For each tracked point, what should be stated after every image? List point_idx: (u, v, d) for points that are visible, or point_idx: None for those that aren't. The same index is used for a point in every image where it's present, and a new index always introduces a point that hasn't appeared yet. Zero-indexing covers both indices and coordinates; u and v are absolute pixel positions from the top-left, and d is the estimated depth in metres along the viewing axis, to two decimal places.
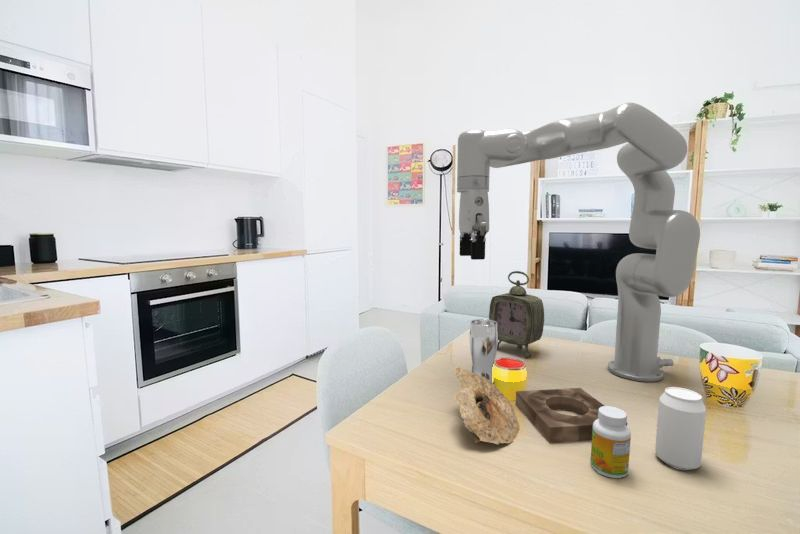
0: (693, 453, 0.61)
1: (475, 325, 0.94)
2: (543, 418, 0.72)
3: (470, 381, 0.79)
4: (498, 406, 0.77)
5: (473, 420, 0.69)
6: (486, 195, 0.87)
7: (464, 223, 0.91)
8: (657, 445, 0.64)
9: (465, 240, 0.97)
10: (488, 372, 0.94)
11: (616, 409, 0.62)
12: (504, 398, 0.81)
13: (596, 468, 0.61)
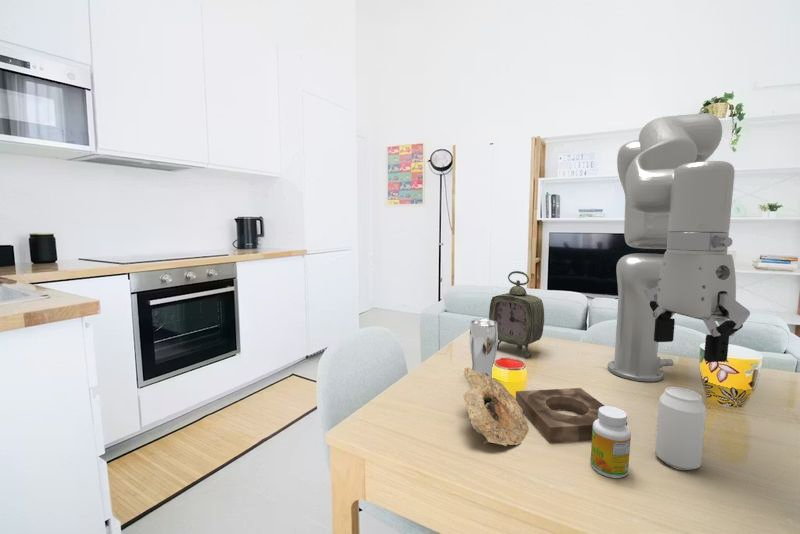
0: (693, 453, 0.61)
1: (475, 325, 0.94)
2: (543, 418, 0.72)
3: (479, 382, 0.79)
4: (507, 407, 0.76)
5: (481, 421, 0.69)
6: (732, 262, 0.56)
7: (685, 302, 0.59)
8: (657, 445, 0.64)
9: (664, 319, 0.66)
10: (488, 372, 0.94)
11: (616, 409, 0.62)
12: (513, 399, 0.80)
13: (596, 468, 0.61)
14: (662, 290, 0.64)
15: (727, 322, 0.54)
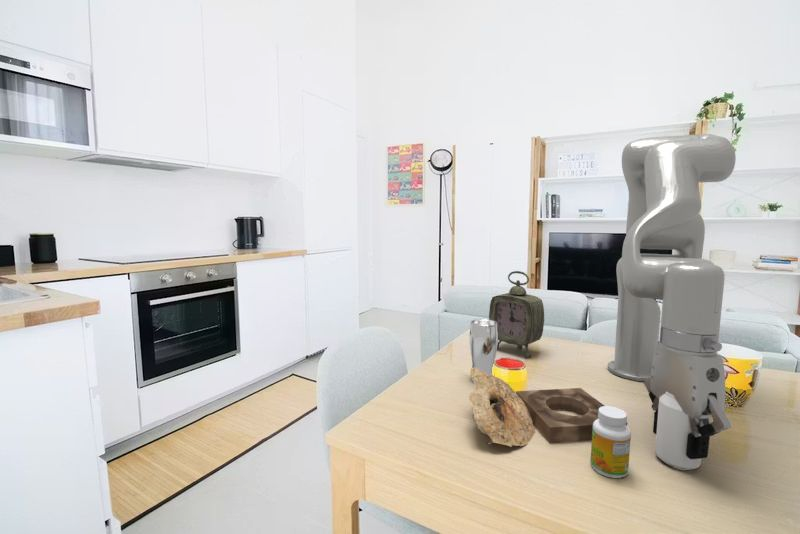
0: None
1: (475, 325, 0.94)
2: (543, 418, 0.72)
3: (485, 382, 0.79)
4: (513, 408, 0.76)
5: (486, 421, 0.69)
6: (722, 364, 0.58)
7: (676, 397, 0.61)
8: (657, 445, 0.64)
9: None
10: (488, 372, 0.94)
11: (616, 409, 0.62)
12: (520, 400, 0.80)
13: (596, 468, 0.61)
14: (655, 379, 0.66)
15: (707, 426, 0.57)
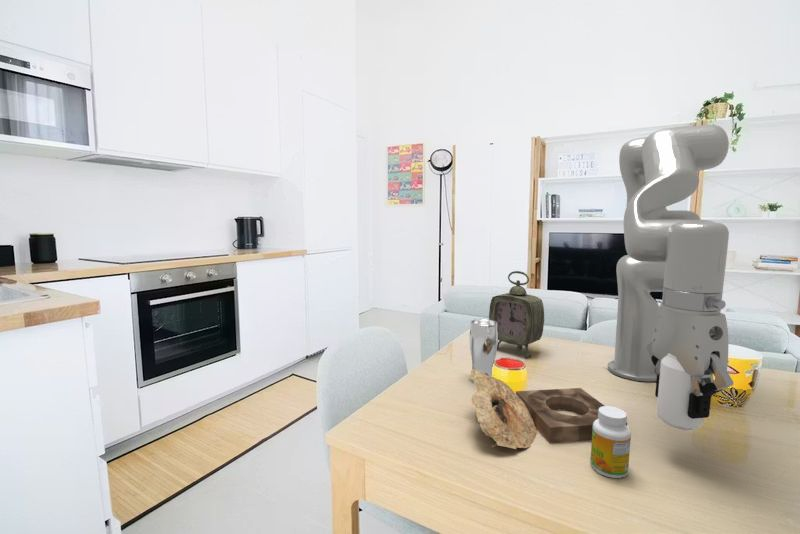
0: None
1: (475, 325, 0.94)
2: (543, 418, 0.72)
3: (486, 384, 0.78)
4: (514, 410, 0.75)
5: (490, 424, 0.68)
6: (725, 323, 0.57)
7: (679, 357, 0.61)
8: (658, 407, 0.65)
9: None
10: (488, 372, 0.94)
11: (616, 409, 0.62)
12: (520, 402, 0.79)
13: (596, 468, 0.61)
14: (657, 341, 0.65)
15: (709, 384, 0.57)
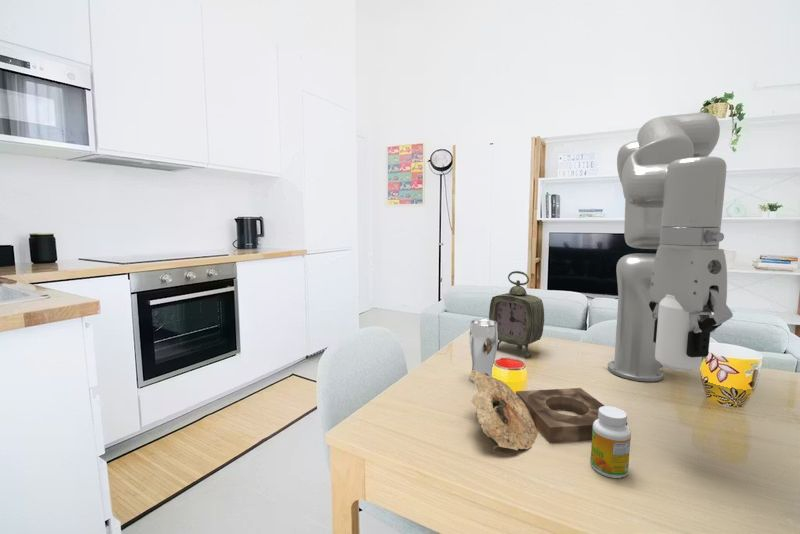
0: None
1: (475, 325, 0.94)
2: (543, 418, 0.72)
3: (487, 385, 0.78)
4: (515, 410, 0.75)
5: (491, 425, 0.67)
6: (724, 257, 0.57)
7: (677, 296, 0.60)
8: (657, 350, 0.64)
9: None
10: (488, 372, 0.94)
11: (616, 409, 0.62)
12: (521, 402, 0.79)
13: (596, 468, 0.61)
14: (655, 284, 0.65)
15: (708, 319, 0.56)
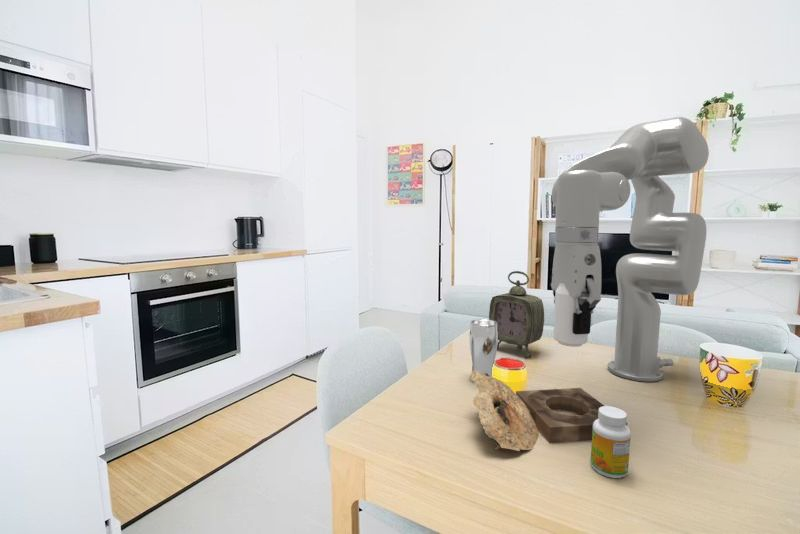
0: None
1: (475, 325, 0.94)
2: (543, 418, 0.72)
3: (487, 385, 0.77)
4: (516, 411, 0.75)
5: (493, 426, 0.67)
6: (598, 252, 0.69)
7: (566, 284, 0.73)
8: (554, 330, 0.76)
9: None
10: (488, 372, 0.94)
11: (616, 409, 0.62)
12: (521, 402, 0.79)
13: (596, 468, 0.61)
14: (554, 275, 0.77)
15: (585, 302, 0.69)
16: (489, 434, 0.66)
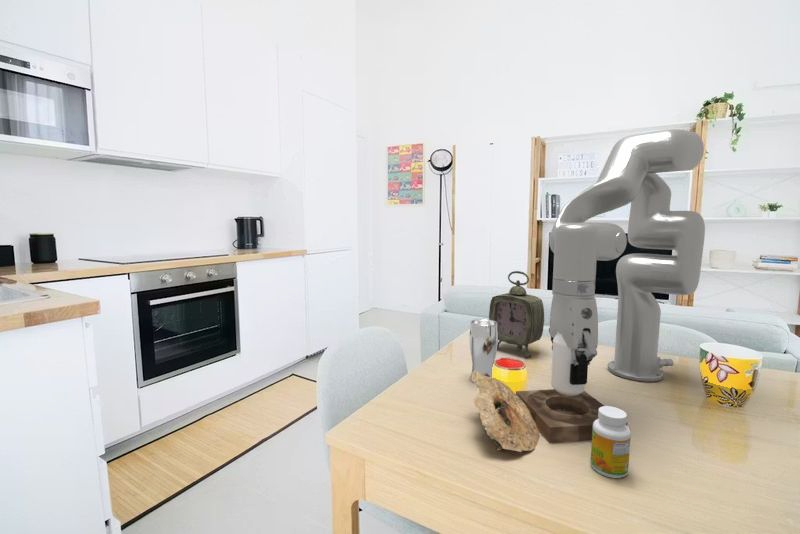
0: None
1: (475, 325, 0.94)
2: (543, 418, 0.72)
3: (488, 386, 0.77)
4: (517, 411, 0.75)
5: (495, 427, 0.67)
6: (595, 305, 0.71)
7: (563, 334, 0.74)
8: (551, 377, 0.78)
9: None
10: (488, 372, 0.94)
11: (616, 409, 0.62)
12: (522, 403, 0.78)
13: (596, 468, 0.61)
14: (551, 323, 0.79)
15: (581, 355, 0.70)
16: (491, 435, 0.65)
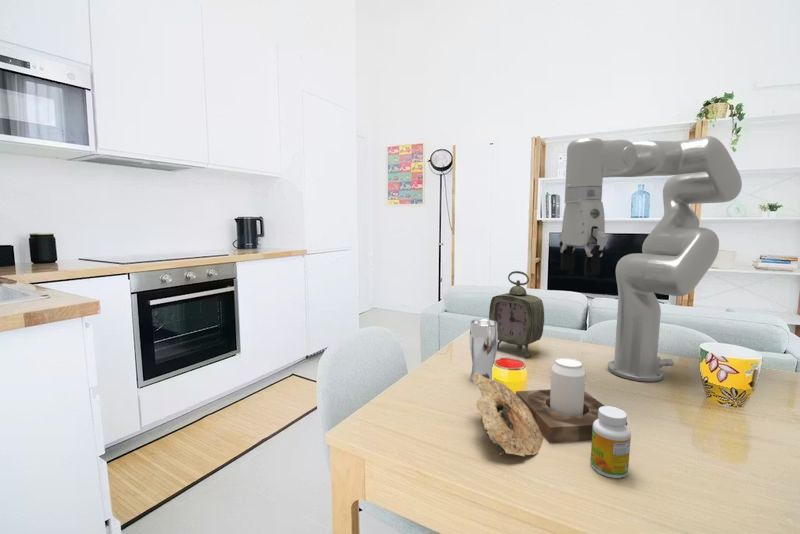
0: (574, 410, 0.75)
1: (475, 325, 0.94)
2: (543, 418, 0.72)
3: (490, 389, 0.76)
4: (519, 415, 0.73)
5: (497, 431, 0.66)
6: (602, 207, 0.82)
7: (574, 236, 0.86)
8: (550, 405, 0.78)
9: (567, 253, 0.92)
10: (488, 372, 0.94)
11: (616, 409, 0.62)
12: (524, 406, 0.77)
13: (596, 468, 0.61)
14: (563, 231, 0.90)
15: (595, 246, 0.80)
16: (493, 439, 0.64)
